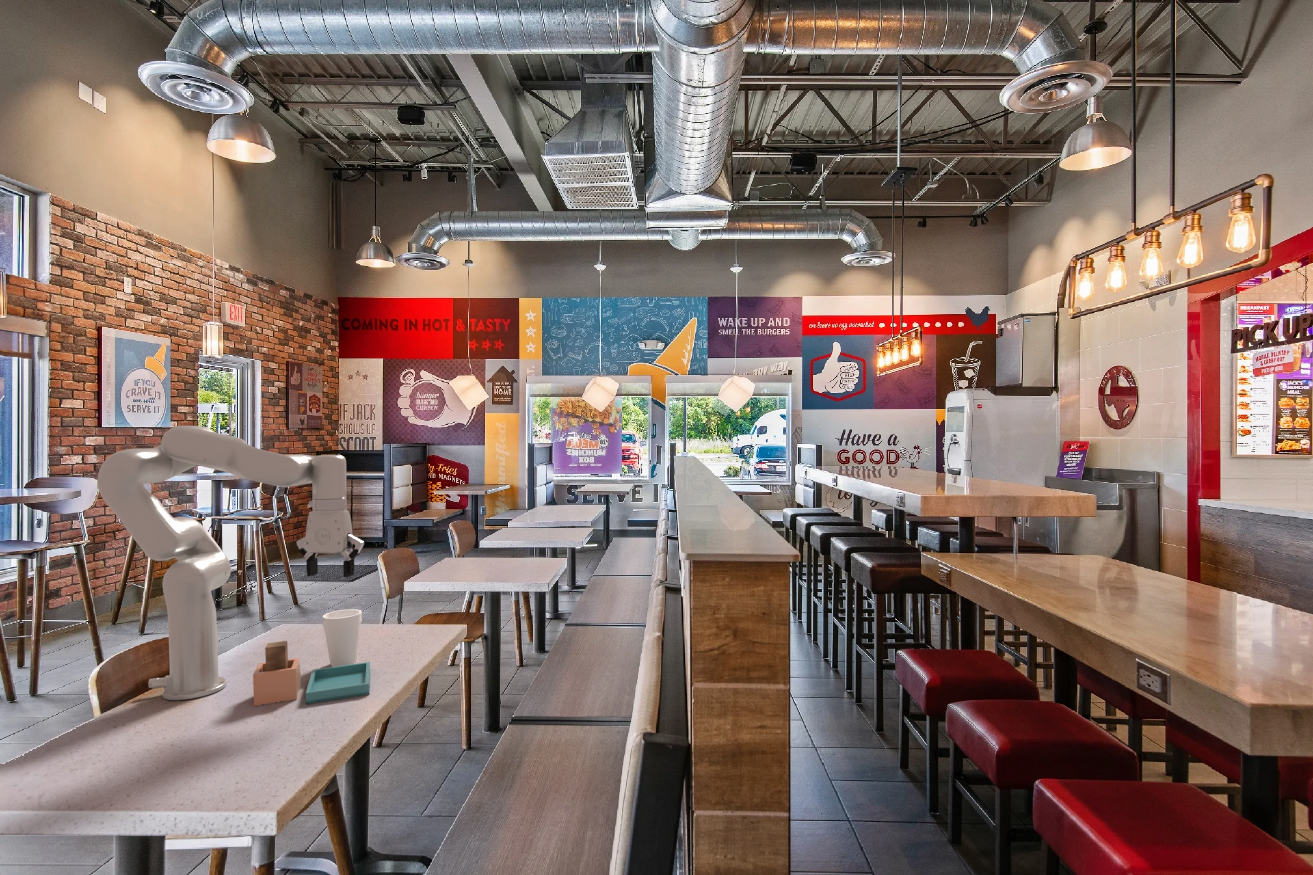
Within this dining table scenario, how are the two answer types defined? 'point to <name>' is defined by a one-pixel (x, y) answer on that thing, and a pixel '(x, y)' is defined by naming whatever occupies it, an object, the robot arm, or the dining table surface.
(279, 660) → the walnut stick
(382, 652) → the dining table surface
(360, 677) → the tray
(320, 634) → the dining table surface
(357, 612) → the foam cup
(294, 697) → the holder cup
